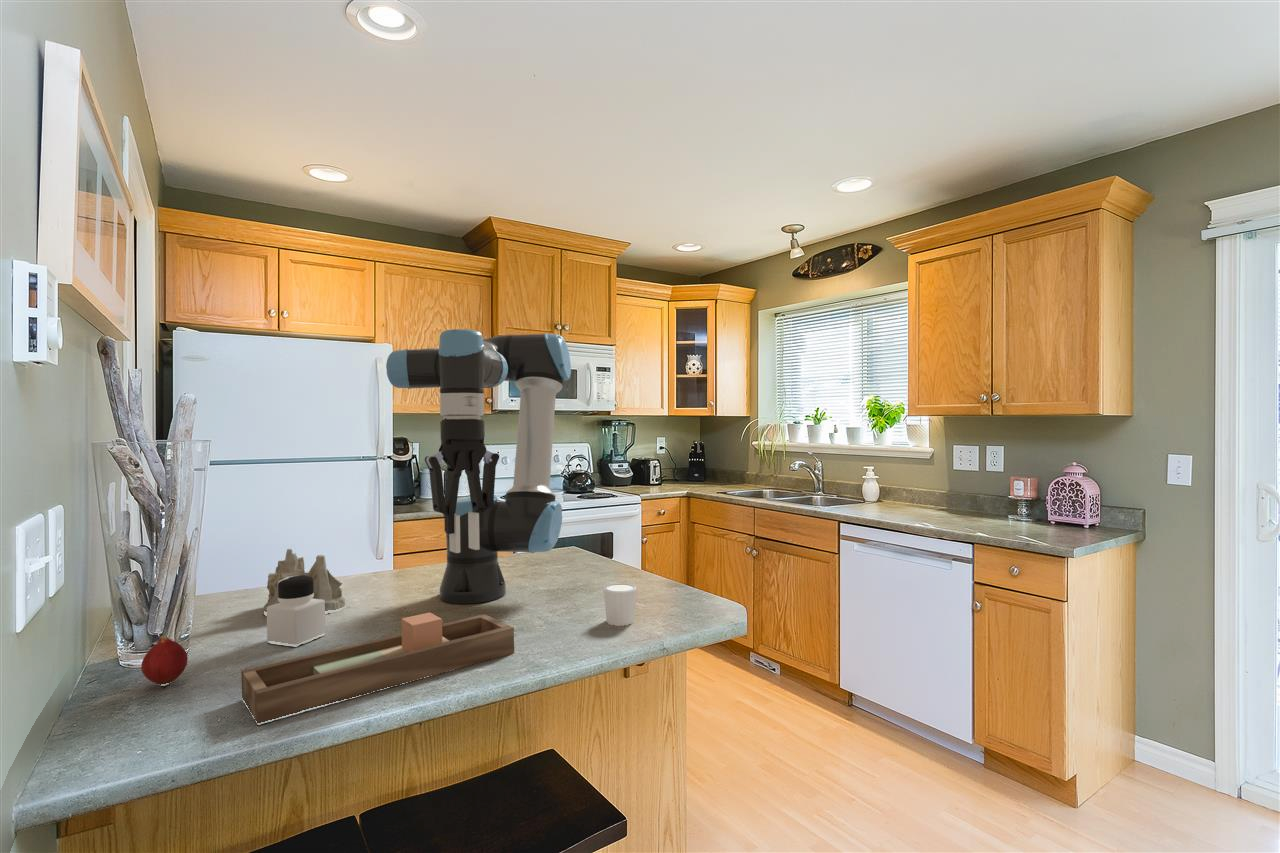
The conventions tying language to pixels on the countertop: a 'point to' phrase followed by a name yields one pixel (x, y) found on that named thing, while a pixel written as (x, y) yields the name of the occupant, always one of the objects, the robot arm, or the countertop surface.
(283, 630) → the medicine bottle
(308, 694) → the brown wooden long tray
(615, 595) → the white cup
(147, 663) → the onion
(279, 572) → the rock mountain model
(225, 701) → the countertop surface
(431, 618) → the block
